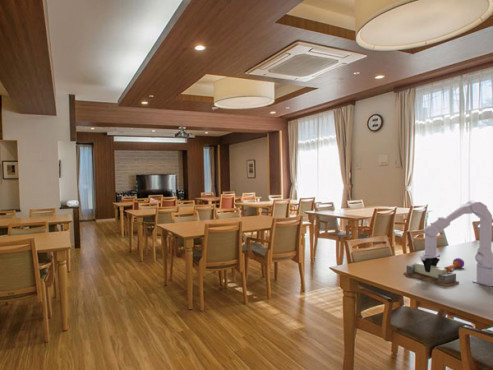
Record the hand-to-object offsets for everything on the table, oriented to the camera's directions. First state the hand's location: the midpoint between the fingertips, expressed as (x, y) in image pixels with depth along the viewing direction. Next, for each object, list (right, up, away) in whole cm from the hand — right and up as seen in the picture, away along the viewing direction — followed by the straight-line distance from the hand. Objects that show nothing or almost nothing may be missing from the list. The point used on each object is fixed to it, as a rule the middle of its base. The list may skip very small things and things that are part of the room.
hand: (430, 271), depth 186 cm
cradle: (0, -4, 0) cm, 4 cm away
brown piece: (+25, -4, +19) cm, 32 cm away
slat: (0, -2, 0) cm, 2 cm away
